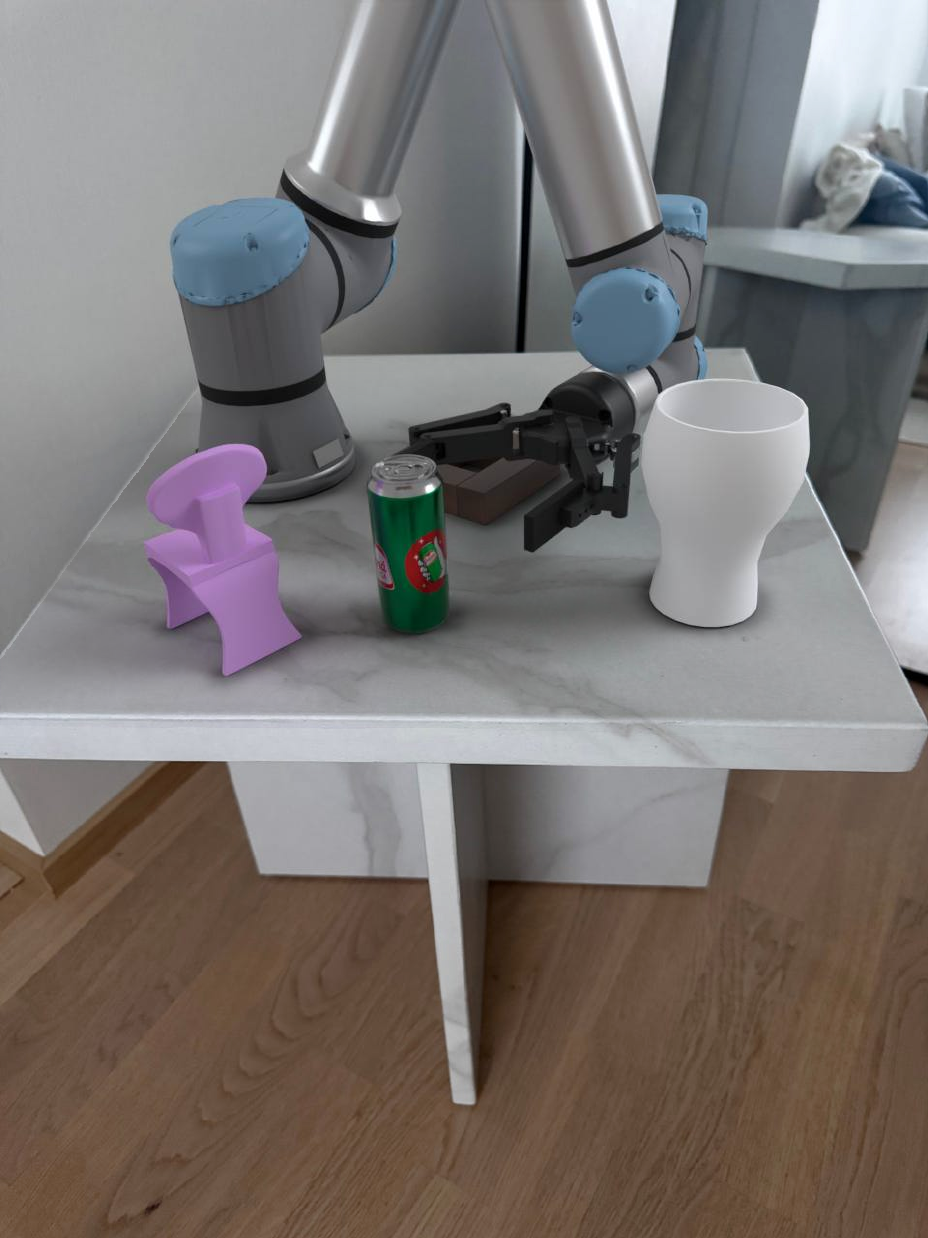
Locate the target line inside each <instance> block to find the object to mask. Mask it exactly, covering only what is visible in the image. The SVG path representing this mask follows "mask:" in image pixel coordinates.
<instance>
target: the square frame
mask: <svg viewBox="0 0 928 1238" xmlns="http://www.w3.org/2000/svg"><path fill="white" fill-rule="evenodd" d="M408 447H410V445H408V446H406V447H404V448H402V449H400V450H399V451H397V452H395V453H393V454H391V455H390V456H395V455H396V454H397V453H399V452H401V451H403V450H405V449H406V448H408ZM513 449H519V438H518V433H516V432H513ZM390 456H388V457H390ZM466 464H467V465H469V466H472V467H473V466H474V467H477V468H480V469H482V470H481V471H479V472H474V471H472V470H468V469H465V468H461V467H462V466H464V465H466ZM436 467H437V472H438V473H439V474H440V475H441V477H442V479H443V491H444V508H445V513H447V514H451V515H454V516H457V517H460V518H463V519H466V520H468V521H471V522H475V523H478V524H480V525H484V526H487V525H488V524H490V523H491V522H492V521H494V520H496V519H497V518H498V517H500V516H502V515H503V514H505V512H507V511H509V510H510V509H512V508H513V507H514V506H516V505H517V504H519V503H520V502H522V501H523V500H525V499H526V498H528V497H529V496H531V495H532V494H533V493H535V492H536V491H538V490H539V489H541V488H542V487H544V486H545V485H547V484H548V483H550V482H551V481H553V480H554V479H556V478H557V477H558V476H560V475H561V465H559V464H558V465H557V466H555V465H551V464H548V463H545V462H543V461H541V460H533V459H524V460H516V461H507V460H505V458H504V457H497V458H489V459H482V460H474V461H467V462H459V463H451V464H444V465H436Z"/></svg>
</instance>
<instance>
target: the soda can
mask: <svg viewBox="0 0 928 1238" xmlns="http://www.w3.org/2000/svg"><path fill="white" fill-rule="evenodd" d="M436 468H437V467H436V464H435V462H434V461H433V460H431V459H429V458H427V457H424V456H420V455H412V454H404V455H395V456H391V455H390V457H389V456H388V457H387V456H386V457H384V458H382V459H380V460H377V461H376V462H375V463H373V465H372V466H371V468H370V476H369V479H368V480H367V482H366V493H367V501H368V509H369V518H370V528H371V533H372V534H371V536H372V543H373V544H372V545H373V552H374V562H375V570H376V571H375V572H376V578H377V579H376V580H377V587H378V588H377V589H378V597H379V606H380V613H381V618H382V621H384V623H386V625H388V626H390V628H392V629H394V630H396V631H397V632H401V633H404V634H412V635H414V634H415V635H416V634H424V633H428V632H431V631H432V630H436V628H438V627H440V626H441V625H442V624H443V623H444V622H445V621H446V620H447V619H448V617H449V615H450V613H451V597H450V596H451V595H450V580H449V562H448V548H447V547H448V546H447V544H448V543H447V528H446V527H447V526H446V512H445V508H444V491H443V479H442V477H441V475H440V474H439V473H438V472H437V470H436Z"/></svg>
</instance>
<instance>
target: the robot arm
mask: <svg viewBox="0 0 928 1238" xmlns="http://www.w3.org/2000/svg"><path fill="white" fill-rule="evenodd" d="M464 1H465V0H350V2H349V6H348V9H347V13H346V16H345V19H344V21H343V22H344V23H343V26H342V30H341V34H340V35H339V39H338V43H337V46H336V49H335V54H334V57H333V60H332V62H331V67H330V71H329V74H328V76H327V80H326V82H325V83H326V84H325V86H324V91H323V94H322V97H321V100H320V104H319V107H318V111H317V114H316V117H315V121H314V125H313V128H312V131H311V135H310V138H309V141H308V145H307V147H306V148H305V149H304V150H302V151H299V152H296V153H294V154H292V155H289V156H288V157H287V158H286V160H285V162H284V164H283V167H282V168H283V169H282V171H281V176H280V178H279V181H278V182H279V183H278V186H277V189H276V193H275V197H249V198H239V199H232V200H229V201H226V202H225V203H223V204H213V205H210V206H207V207H203V208H201V209H198V210H196V211H194V212H191V213H190V214H189V215H187V216H186V217H184V218H183V219H181V220H180V221H179V222H178V223H177V224H176V225H175V227H174V228H173V230H172V232H171V234H170V239H169V248H170V249H169V251H170V257H171V264H172V281H173V284H174V287H175V290H176V291H177V294H178V299H179V304H180V308H181V312H182V317H183V321H184V325H185V329H186V334H187V338H188V343H189V346H190V347H189V348H190V352H191V356H192V361H193V365H194V369H195V374H196V378H197V382H198V388H199V390H200V391H199V392H200V397H201V413H200V422H199V432H198V448H196V449H195V454H197V453H200V452H203V451H206V450H208V449H211V448H214V447H217V446H221V445H227V444H246V445H250V446H253V447H255V448H257V449H258V450H259V451H260V452H261V453H262V455H263V457H264V459H265V462H266V466H267V473H266V477H265V479H264V481H263V483H262V484H261V485H260V487H259V488H258V489H257V490H256V491H255V492H254V493H253V494H252V495H251V496H250V498H249V499H248V500H247V502H246V503H271V502H282V501H288V500H294V499H298V498H303V497H307V496H310V495H313V494H317V493H319V492H322V491H324V490H326V489H329V488H331V487H333V486H335V485H336V484H338V483H339V482H341V481H343V480H344V479H345V478H346V477H347V476H348V475H350V474H351V472H352V471H353V470H354V468H355V465H356V461H357V459H356V452H355V444H354V439H353V437H352V435H351V433H350V431H349V430H348V428H347V426H346V424H345V421H344V419H343V416H342V414H341V412H340V410H339V408H338V405H337V403H336V401H335V399H334V397H333V395H332V393H331V391H330V388H329V386H328V382H327V381H328V380H327V375H326V368H325V359H324V358H325V357H324V351H323V343H322V342H323V341H322V336H321V335H322V334H325V333H326V332H327V331H329V330H331V328H333V327H334V326H337V325H338V324H339V323H341V322H343V321H344V320H346V319H348V318H350V317H351V316H353V315H355V314H357V313H359V312H361V311H363V310H364V309H366V308H367V307H368V306H370V305H371V304H372V303H373V302H374V301H375V300H376V298H378V297H379V296H380V294H381V293H382V292H383V290H384V289H385V288H386V286H387V285H388V284H389V282H390V280H391V278H392V275H393V273H394V270H395V267H396V262H397V253H398V245H397V238H396V237H395V233H396V231H397V228H398V225H399V224H400V221H401V217H402V213H403V212H402V211H403V210H402V207H401V204H400V201H399V199H398V197H397V195H396V194H397V193H396V192H395V188H396V185H397V182H398V180H399V177H400V174H401V171H402V170H403V167H404V164H405V161H406V158H407V155H408V153H409V150H410V148H411V145H412V142H413V141H414V136H415V134H416V131H417V129H418V126H419V123H420V120H421V118H422V115H423V112H424V110H425V107H426V105H427V103H428V102H427V101H428V99H429V96H430V94H431V91H432V88H433V86H434V83H435V80H436V77H437V75H438V73H439V70H440V67H441V64H442V62H443V59H444V56H445V53H446V51H447V48H448V45H449V43H450V41H451V37H452V34H453V31H454V28H455V26H456V23H457V21H458V17H459V15H460V13H461V11H462V8H463V5H464ZM483 2H484V5H485V8H486V11H487V14H488V17H489V21H490V24H491V27H492V31H493V34H494V36H495V40H496V43H497V46H498V49H499V52H500V56H501V59H502V62H503V66H504V69H505V72H506V76H507V78H508V81H509V84H510V88H511V91H512V95H513V97H514V100H515V101H514V102H515V104H516V107H517V110H518V113H519V114H518V115H519V117H520V120H521V123H522V126H523V129H524V132H525V136H526V138H527V142H528V145H529V149H530V152H531V154H532V155H531V156H532V158H533V160H534V164H535V167H536V171H537V175H538V177H539V181H540V184H541V187H542V190H543V193H544V197H545V199H546V203H547V206H548V209H549V213H550V216H551V219H552V223H553V226H554V229H555V232H556V235H557V238H558V241H559V244H560V248H561V251H562V254H563V258H564V260H565V263H566V267H567V271H568V274H569V277H570V280H571V285H572V287H573V292H574V294H575V300H574V301H573V305H572V313H571V316H570V317H571V318H570V332H571V337H572V339H573V343H574V345H575V347H576V349H577V351H578V353H580V355H581V356H582V358H583V359H584V360H585V361H587V362H588V363H589V364H590V366H589V367H587V368H585V369H583V370H581V371H579V372H578V374H577V373H576V375H574V376H571V377H570V378H568V379H567V380H564V381H563V382H562V383H560V384H557V386H555V387H553V388H552V389H551V390H550V391H549V392H548V393H547V395H546V396H545V398H544V400H543V401H542V403H541V405H540V406H539V408H537V410H533V411H531V412H526V413H523V414H521V415H518V414H515V413H512V404H511V403H509V402H499V403H497V404H495V405H492V406H491V407H488V408H486V409H482V410H477V411H472V412H469V413H464V414H460V415H459V414H458V415H456V416H451V417H446V418H442V419H438V420H433V421H428V422H424V423H419V424H415V425H411V426H409V427H408V429H407V430H408V441H409V446H410V447H408V446H407V447H408V448H406V447H405V448H406V449H405V450H403V451H401V450H400V451H401V452H399V451H398V452H399V453H397V452H396V453H397V454H396V455H404V454H412V455H420V456H424V457H427V458H429V459H431V460H433V461H434V462H435V464H436V465H444V464H451V463H459V462H467V461H474V460H482V459H489V458H497V457H504V458H505V460H507V461H516V460H524V459H533V460H541V461H543V462H545V463H548V464H551V465H555V466H557V465H558V464H559V465H560V466H564V467H565V468H566V470H567V472H568V476H569V478H570V479H572V480H571V481H569V482H568V483H566V484H565V485H564V486H562V487H561V488H559V489H558V490H557V491H556V492H554V493H553V494H551V495H549V496H548V497H546V499H544V500H543V501H542V502H540V503H539V504H537V505H536V506H534V507H533V508H532V509H530V510H528V512H526V513H525V514H524V515H523V551H526V552H529V553H535V552H536V551H537V550H539V549H540V548H541V547H543V546H545V544H547V543H548V542H549V541H550V540H551V539H553V538H554V537H555V536H557V535H558V534H559V533H561V532H562V531H563V530H565V529H566V528H568V529H573V528H576V527H578V526H579V525H581V524H582V523H584V521H586V520H588V518H590V517H591V516H598V515H601V514H602V512H610V516H611V517H612V518H614V519H625V518H627V517H628V515H629V503H630V502H629V500H630V487H631V475H632V473H633V471H635V469H637V468H638V466H639V461H640V451H641V450H640V449H641V437H642V436H641V435H642V434H643V433H645V430H646V427H647V424H648V421H649V418H650V415H651V412H652V409H653V406H654V403H655V401H656V399H657V396H658V395H659V394H660V393H661V392H663V391H664V390H665V389H667V388H669V387H672V386H674V385H677V384H680V383H684V382H689V381H694V380H704V379H706V375H707V372H708V358H707V355H706V351H705V348H704V346H703V343H702V341H701V340H700V339H699V337H698V336H697V335H696V333H697V331H696V329H697V322H696V321H697V314H698V307H699V299H700V292H701V291H700V290H701V284H702V277H703V268H704V260H705V253H706V246H707V245H708V236H707V232H708V231H707V230H708V228H707V227H708V215H709V210H708V206H707V204H706V203H705V201H703V200H702V199H700V198H698V197H695V196H693V195H692V196H691V195H684V194H673V193H672V194H666V193H662V194H661V193H659V194H657V192H656V189H655V188H656V187H655V185H654V180H653V175H652V172H651V169H650V165H649V164H650V163H649V160H648V155H647V152H646V149H645V145H644V140H643V137H642V133H641V128H640V126H639V121H638V118H637V113H636V110H635V105H634V101H633V97H632V93H631V90H630V86H629V82H628V78H627V74H626V70H625V67H624V63H623V62H624V61H623V58H622V54H621V51H620V47H619V42H618V39H617V35H616V31H615V26H614V23H613V18H612V15H611V11H610V7H609V4H608V0H483ZM514 431H516V432H517V434H518V438H519V449H513V433H514ZM608 459H609V460H610V461H612V462H613V463H612V467H613V469H614V470H613V479H612V485H604V475H605V473H604V471H602V472H600V470H599V469H598V466H599V465H600V464H602V463H604V462H605V461H607V460H608ZM436 470H437V468H436Z"/></svg>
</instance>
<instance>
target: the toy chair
mask: <svg viewBox="0 0 928 1238" xmlns="http://www.w3.org/2000/svg"><path fill="white" fill-rule="evenodd" d="M266 473H267V466H266V462H265V459H264V457H263V455H262V453H261V452H260V451H259V450H258V449H257V448H255V447H253V446H250V445H246V444H227V445H221V446H217V447H214V448H211V449H208V450H206V451H203V452H200V453H195V454H192V455H191V456H188V457H186V458H184V459H183V460H180V461H179V462H178V463H176V464H173V466H171V467H170V468H169V469H167V470H166V471H164V472H163V473H162V474H161V475H160V476H158V477H157V478H156V479H155V480H154V481H153V483H152V484H151V485H150V486H149V488H148V490H147V492H146V496H145V503H146V506H147V507H146V508H147V509H148V510H149V512H150V513H151V515H152V516H153V518H155V519H156V520H157V521H158V522H160V523H161V524H163V525H166V526H169V527H170V528H171V529H175V530H172V531H169V532H166V533H163V534H160V535H157V536H154V537H152V538H150V539H148V540H144V541H143V542H142V543H143V546H144V550H145V557H146V559H147V561H148V563H149V564H150V566H151V567H152V568H154V570H155V571H156V572H157V573H158V575H159V577H160V578H161V580H162V582H163V585H164V588H165V593H166V601H167V616H166V617H167V619H166V627H167V628H168V629H169V630H172V629H175V628H177V627H180V626H181V625H183V624H185V623H188V622H190V621H192V620H194V619H196V618H198V617H201V616H203V615H205V614H208V613H209V614H210V615H211V616H212V618H213V619H214V620H215V623H216V624H217V626H218V629H219V631H220V635H221V642H222V669H221V670H222V671H221V673H222V676H224V677H228V676H230V675H233V674H234V673H236V672H238V671H240V670H242V669H244V668H246V667H248V666H249V665H252V664H254V663H256V662H258V661H259V660H261V659H263V658H266V657H267V656H269V655H271V654H273V653H275V652H277V651H279V650H281V649H283V648H285V647H287V646H289V645H291V644H292V643H294V642H296V641H298V640H300V639H302V638H303V636H302V634H301V633H300V632H299V631H298V630H297V628H296V627H295V626H294V625H293V623H292V622H291V620H290V619H289V618H288V616H287V614H286V613H285V611H284V608H283V606H282V605H281V604H282V603H281V600H280V596H279V595H280V594H279V576H280V559H279V556H278V553H277V552H276V549H275V548H276V547H275V544H274V539H273V538H271V537H270V536H268V535H266V534H265V533H264V532H261V531H259V530H257V529H255V528H253V527H252V526H250V525H249V524H247V523H245V518H244V511H243V507H244V506H245V504H247V503H248V502H247V500H248V499H249V498H250V496H251V495H252V494H253V493H254V492H255V491H256V490H257V489H258V488H259V487H260V485H261V484H262V483H263V481H264V479H265V477H266Z"/></svg>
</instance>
